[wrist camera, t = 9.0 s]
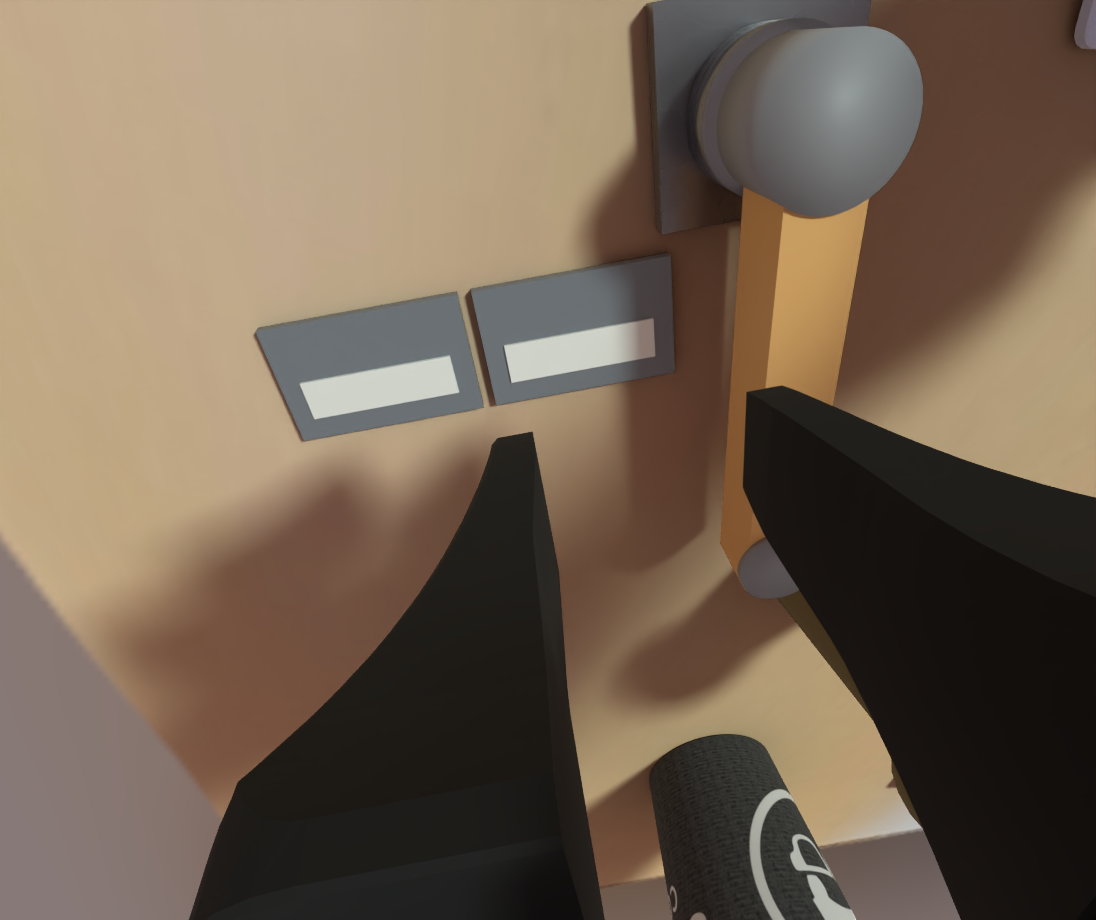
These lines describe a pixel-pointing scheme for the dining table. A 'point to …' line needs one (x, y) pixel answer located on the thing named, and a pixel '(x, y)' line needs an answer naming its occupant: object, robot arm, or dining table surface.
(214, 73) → the dining table surface
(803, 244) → the swing arm
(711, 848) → the coffee cup
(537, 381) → the label
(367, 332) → the label
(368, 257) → the dining table surface
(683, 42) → the square flange plate
